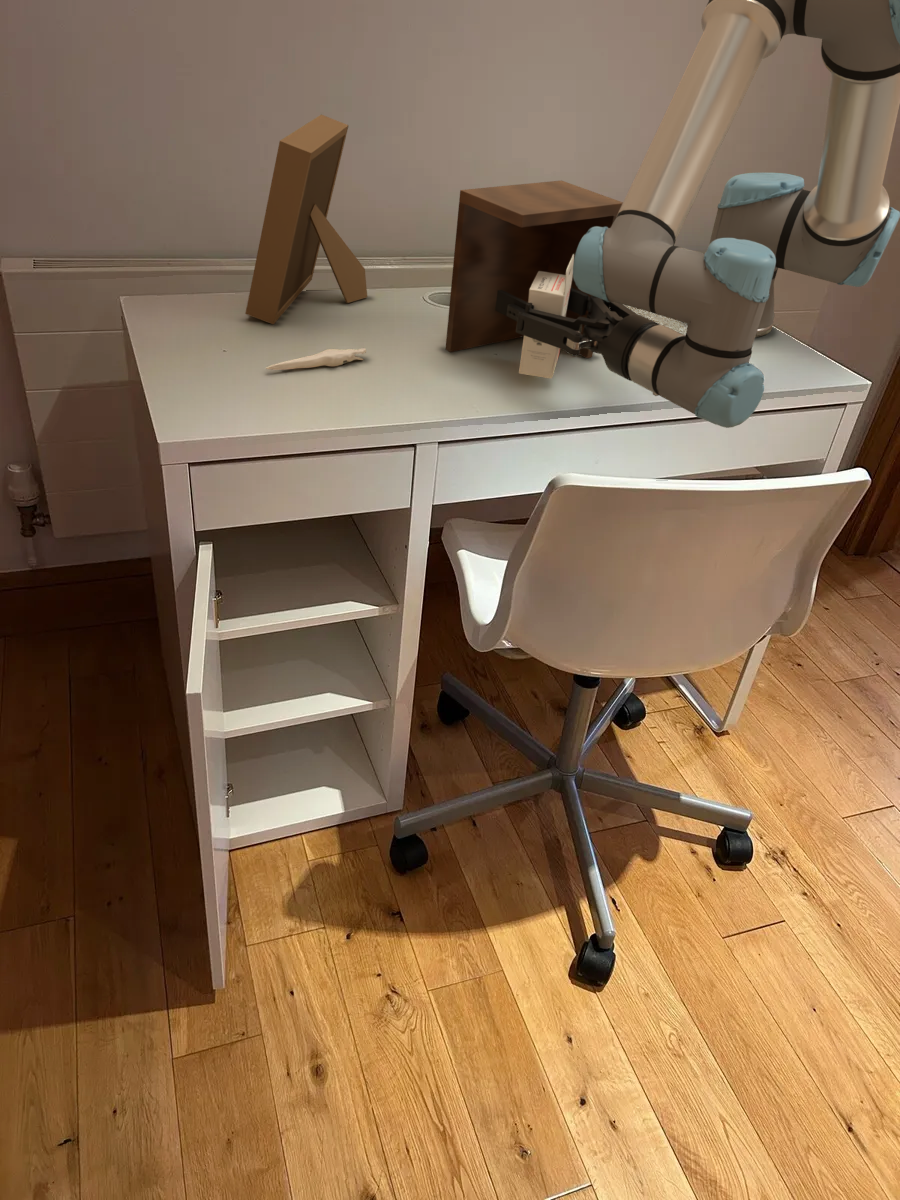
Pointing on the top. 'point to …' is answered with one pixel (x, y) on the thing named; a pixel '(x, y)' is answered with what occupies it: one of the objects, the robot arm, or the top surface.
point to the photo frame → (302, 222)
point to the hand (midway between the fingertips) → (526, 295)
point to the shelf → (515, 251)
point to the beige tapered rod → (321, 359)
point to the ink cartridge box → (551, 298)
